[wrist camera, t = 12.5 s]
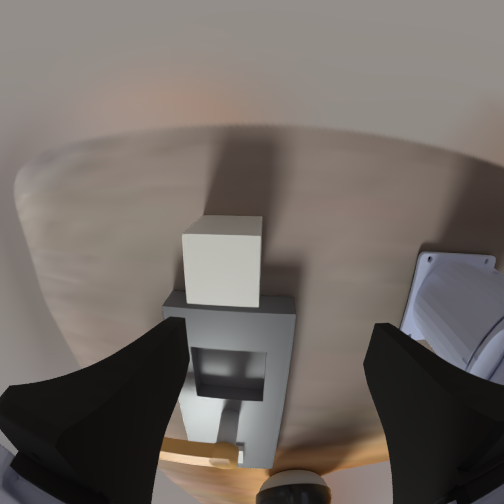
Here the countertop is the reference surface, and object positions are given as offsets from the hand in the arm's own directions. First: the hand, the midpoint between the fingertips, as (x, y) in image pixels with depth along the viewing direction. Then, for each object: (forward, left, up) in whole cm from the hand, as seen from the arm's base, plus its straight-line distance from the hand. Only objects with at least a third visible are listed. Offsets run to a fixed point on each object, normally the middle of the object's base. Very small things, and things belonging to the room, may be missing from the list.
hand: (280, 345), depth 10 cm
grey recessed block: (+3, +14, -10) cm, 17 cm away
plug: (+3, -1, -10) cm, 10 cm away
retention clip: (+6, +14, -4) cm, 16 cm away
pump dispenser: (-5, +33, -10) cm, 35 cm away
